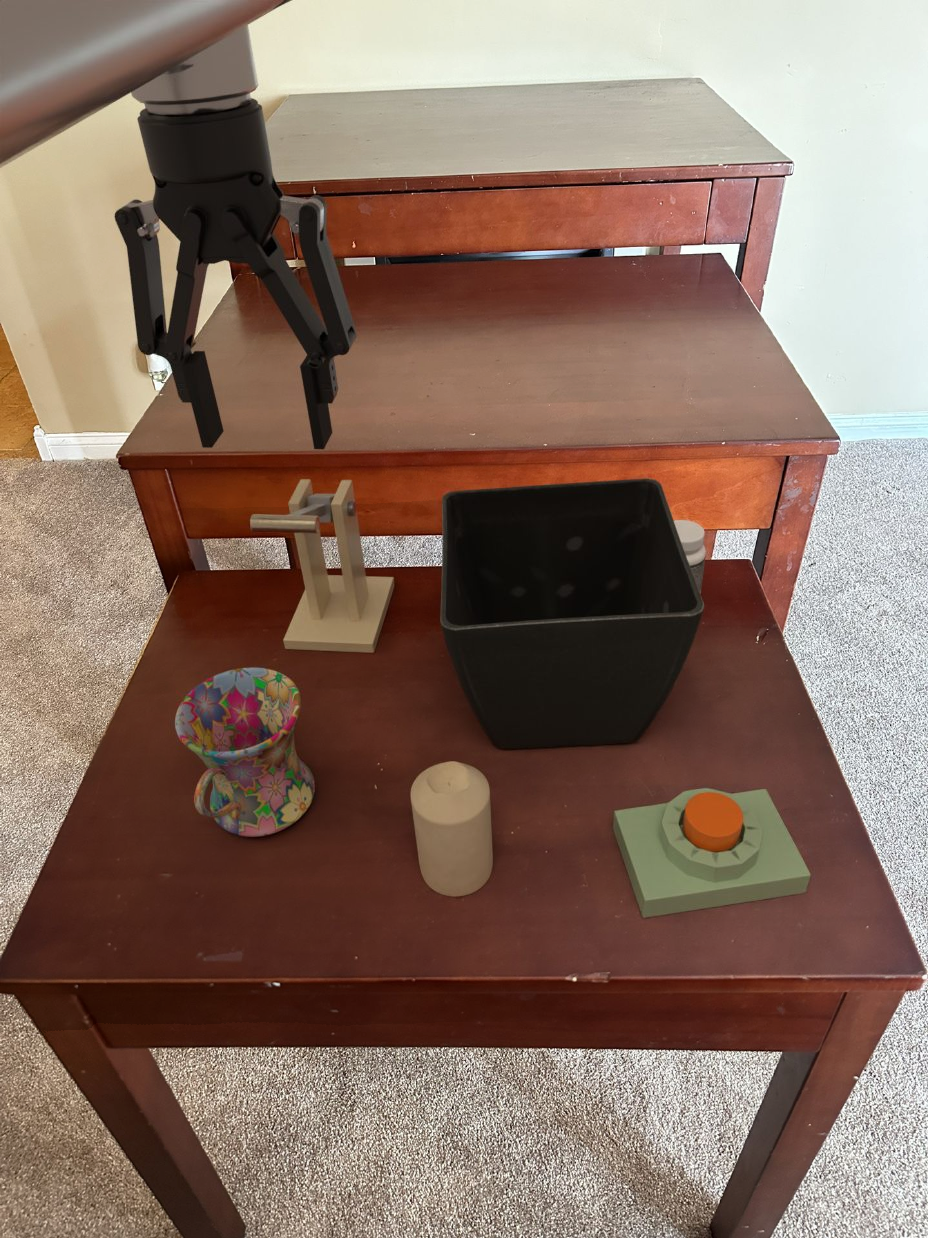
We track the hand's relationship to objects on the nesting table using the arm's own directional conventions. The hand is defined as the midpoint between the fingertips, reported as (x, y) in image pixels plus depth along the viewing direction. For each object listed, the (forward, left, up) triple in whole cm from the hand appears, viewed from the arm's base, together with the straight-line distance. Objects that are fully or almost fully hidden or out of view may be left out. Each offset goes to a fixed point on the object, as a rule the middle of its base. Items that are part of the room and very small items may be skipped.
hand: (267, 439), depth 69 cm
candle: (+10, -23, -25) cm, 36 cm away
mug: (-5, -15, -25) cm, 30 cm away
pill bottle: (+37, +6, -25) cm, 45 cm away
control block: (+29, -25, -25) cm, 46 cm away
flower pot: (+22, -6, -25) cm, 34 cm away
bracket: (+3, +10, -25) cm, 27 cm away
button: (+29, -25, -22) cm, 44 cm away
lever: (+1, +5, -11) cm, 12 cm away
